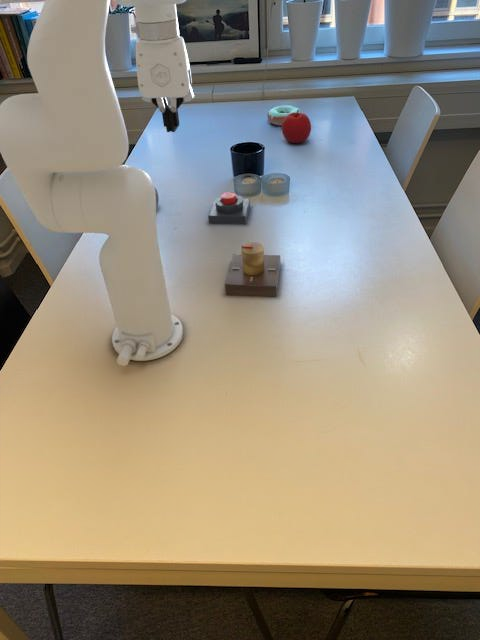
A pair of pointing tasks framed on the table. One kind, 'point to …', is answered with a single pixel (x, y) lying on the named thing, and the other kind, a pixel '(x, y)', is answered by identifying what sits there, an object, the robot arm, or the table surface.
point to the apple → (296, 127)
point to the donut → (280, 114)
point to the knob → (253, 258)
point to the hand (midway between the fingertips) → (172, 129)
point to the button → (228, 198)
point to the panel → (253, 278)
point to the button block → (229, 212)
